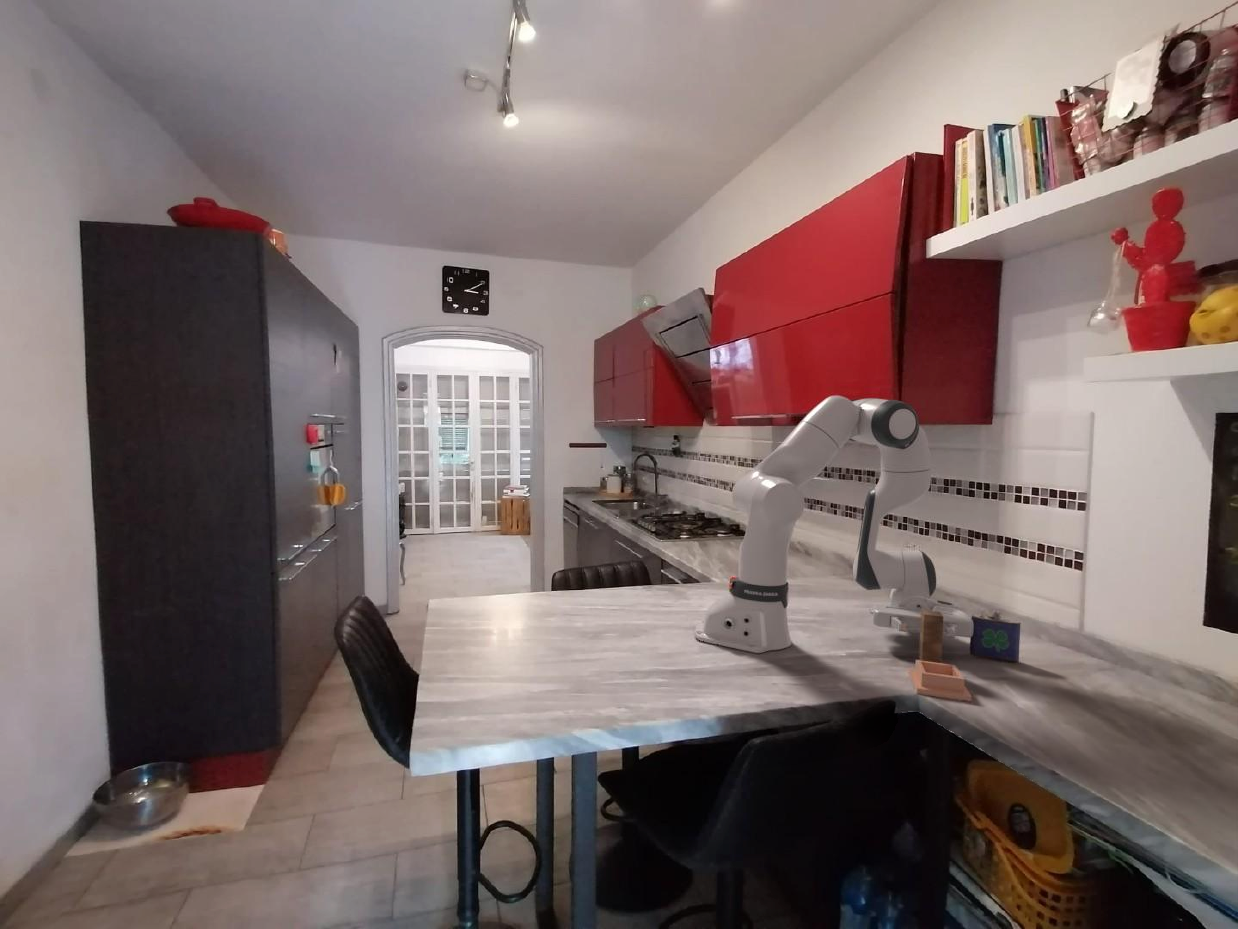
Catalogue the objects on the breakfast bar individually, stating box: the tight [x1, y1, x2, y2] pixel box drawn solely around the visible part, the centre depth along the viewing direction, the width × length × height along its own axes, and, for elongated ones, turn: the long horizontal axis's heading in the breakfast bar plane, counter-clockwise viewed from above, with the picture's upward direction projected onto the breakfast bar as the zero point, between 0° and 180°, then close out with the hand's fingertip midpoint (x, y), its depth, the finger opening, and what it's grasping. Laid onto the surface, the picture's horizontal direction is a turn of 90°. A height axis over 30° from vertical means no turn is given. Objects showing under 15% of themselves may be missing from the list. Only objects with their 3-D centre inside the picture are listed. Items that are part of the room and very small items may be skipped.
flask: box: [969, 610, 1022, 664], centre depth 126 cm, size 9×3×11 cm, turn 63°
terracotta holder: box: [907, 659, 973, 702], centre depth 110 cm, size 9×10×4 cm
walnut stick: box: [918, 610, 944, 663], centre depth 118 cm, size 4×4×12 cm
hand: (926, 631), depth 122 cm, fingers open, 8 cm apart
